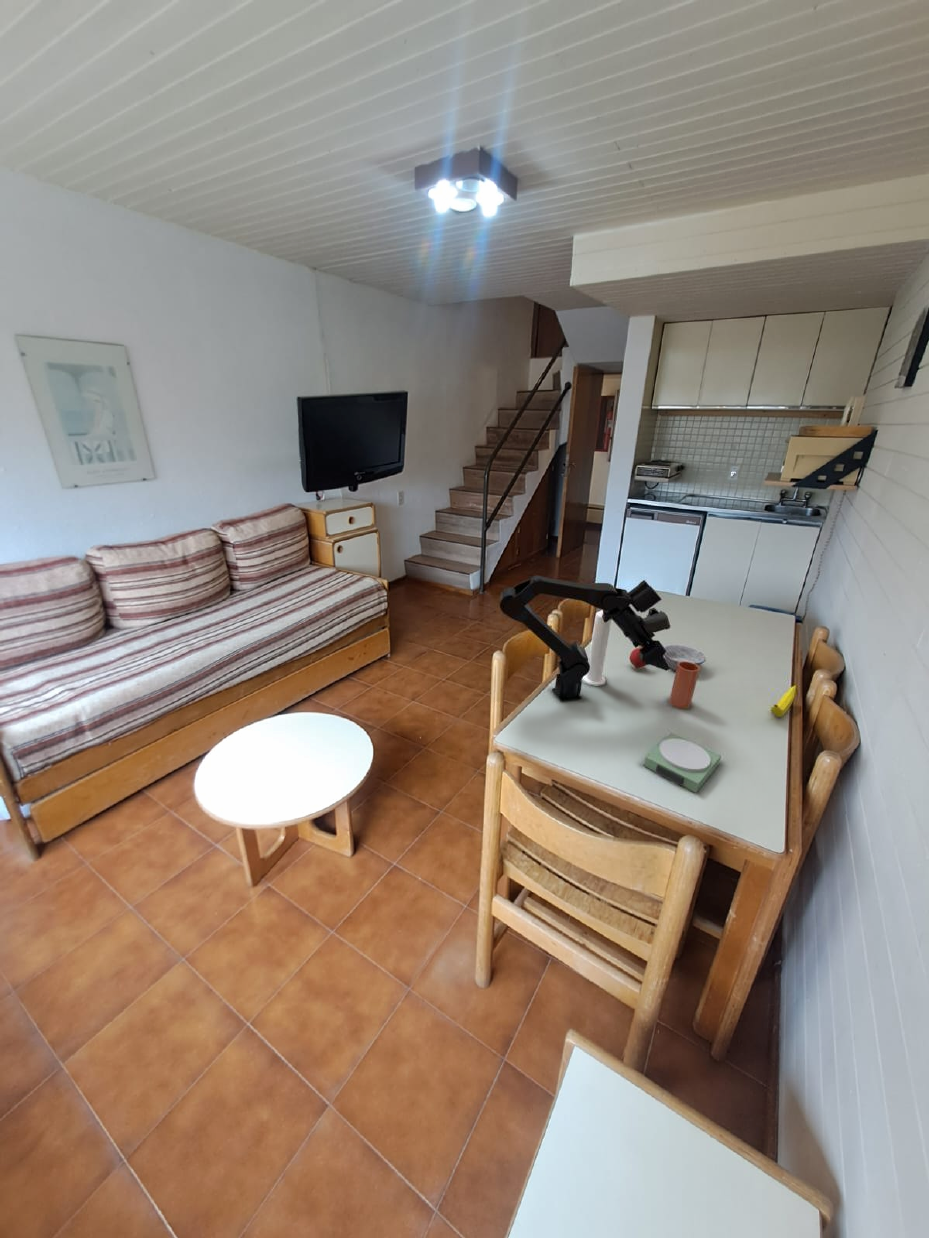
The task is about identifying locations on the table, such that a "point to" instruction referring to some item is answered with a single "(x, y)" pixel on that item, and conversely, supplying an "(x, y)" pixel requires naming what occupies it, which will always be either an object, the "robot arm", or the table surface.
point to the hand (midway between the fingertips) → (663, 661)
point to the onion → (636, 658)
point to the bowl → (682, 656)
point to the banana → (784, 703)
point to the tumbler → (684, 684)
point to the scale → (683, 761)
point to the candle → (597, 651)
